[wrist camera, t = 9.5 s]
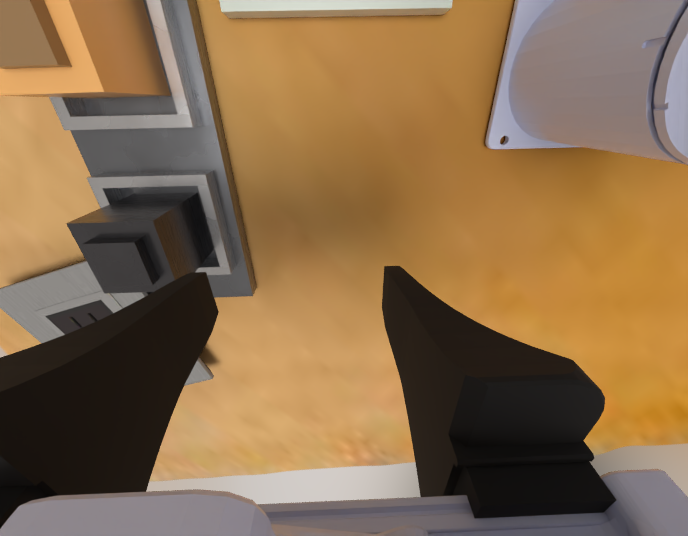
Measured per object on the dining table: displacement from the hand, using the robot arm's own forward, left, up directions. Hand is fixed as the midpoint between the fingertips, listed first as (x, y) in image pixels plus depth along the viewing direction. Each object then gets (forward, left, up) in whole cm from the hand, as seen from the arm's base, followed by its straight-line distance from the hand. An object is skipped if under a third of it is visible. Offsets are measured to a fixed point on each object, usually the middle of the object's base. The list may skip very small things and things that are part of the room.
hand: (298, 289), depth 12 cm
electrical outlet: (+17, +9, -10) cm, 22 cm away
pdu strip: (+9, -5, -9) cm, 14 cm away
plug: (+9, -9, -8) cm, 15 cm away
